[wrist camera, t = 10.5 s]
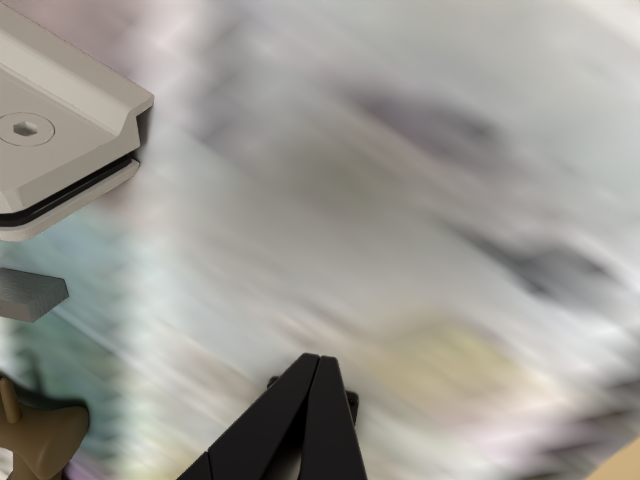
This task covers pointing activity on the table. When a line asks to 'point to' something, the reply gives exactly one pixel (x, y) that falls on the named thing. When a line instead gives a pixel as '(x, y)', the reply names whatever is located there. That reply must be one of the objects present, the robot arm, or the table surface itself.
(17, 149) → the hinge
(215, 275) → the table surface
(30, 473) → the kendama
